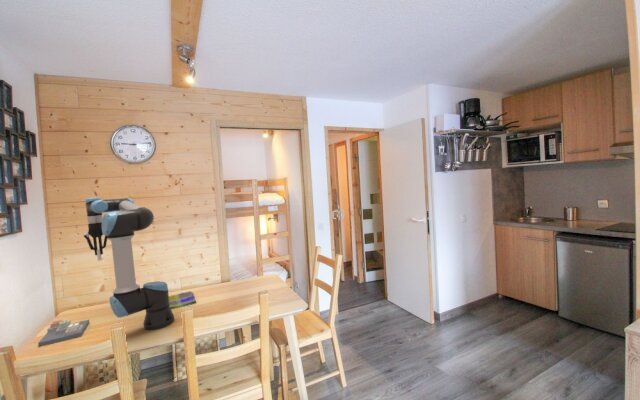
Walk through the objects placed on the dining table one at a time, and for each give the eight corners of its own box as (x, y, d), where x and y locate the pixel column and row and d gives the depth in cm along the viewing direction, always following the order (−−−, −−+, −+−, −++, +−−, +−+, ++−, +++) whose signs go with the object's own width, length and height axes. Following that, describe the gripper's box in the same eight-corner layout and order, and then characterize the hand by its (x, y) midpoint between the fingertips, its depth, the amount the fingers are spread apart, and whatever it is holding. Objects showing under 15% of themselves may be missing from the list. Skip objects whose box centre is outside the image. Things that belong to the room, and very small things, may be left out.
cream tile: (78, 330, 157) (77, 324, 157) (68, 332, 155) (67, 327, 155) (79, 327, 161) (79, 322, 160) (70, 329, 159) (69, 324, 159)
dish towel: (166, 311, 183) (166, 307, 183) (166, 300, 205) (165, 296, 204) (196, 304, 191) (196, 300, 191) (193, 293, 213) (192, 290, 213)
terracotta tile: (60, 327, 163) (59, 322, 163) (51, 329, 161) (50, 324, 161) (62, 324, 166) (62, 319, 166) (53, 327, 164) (52, 321, 164)
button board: (81, 336, 156) (80, 329, 156) (38, 346, 148) (37, 339, 148) (89, 322, 174) (88, 316, 174) (51, 331, 166) (50, 324, 166)
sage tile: (68, 327, 160) (68, 321, 160) (59, 329, 158) (58, 323, 158) (70, 324, 163) (70, 319, 163) (61, 326, 162) (60, 321, 161)
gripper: (109, 220, 190) (113, 257, 191) (83, 223, 183) (88, 260, 184) (107, 221, 183) (111, 259, 184) (80, 224, 177) (85, 263, 178)
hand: (99, 260), depth 184 cm, fingers closed
